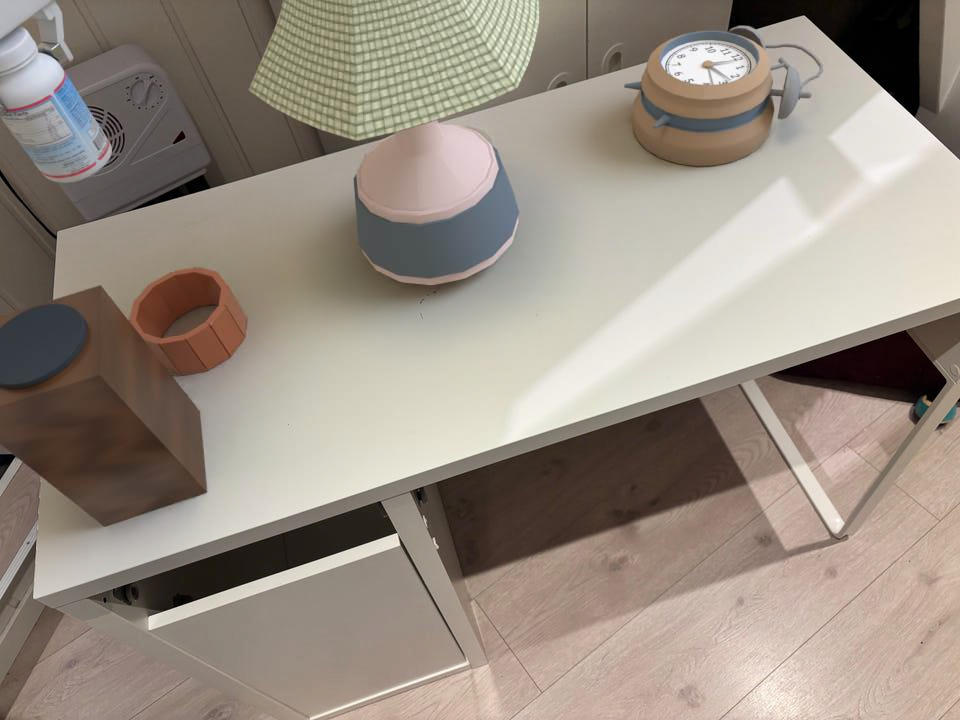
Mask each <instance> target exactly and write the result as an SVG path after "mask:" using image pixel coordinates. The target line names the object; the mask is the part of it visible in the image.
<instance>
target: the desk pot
mask: <svg viewBox="0 0 960 720" xmlns="http://www.w3.org/2000/svg"><path fill="white" fill-rule="evenodd" d="M214 305H216V306H217V307H216V308H215V309H214V310H213V311H212V313H211V314H210V315H209V316H208V318H207V319H206V321H205V322H203V323H201V324H200V325H198V326H196V327H194V328H193V329H191V330H189V331H188V332H186V333H184V334H179V335H173V336H167V337H163V336H164V334H165V333H166V331H168V329H169V328H170V326H172V324H173V323H174V322H175V320H176V319H178V318H180V317H181V316H183V315H185V314H187V313H188V312H190V311H192V310H193V309H196V308H201V307H207V306H214ZM128 320H129V322H130V323H131V324H132V325H133V327H134V328H135V329H136V330H137V332H138V333H139V334H140V336H141V337H142V338H143V339H144V341H145V342H146V343H147V344H148V346H149V347H150V348H151V350H152V351H153V352H154V353H155V355H156V356H157V357H158V358H159V360H160V361H161V362H162V364H163V365H164V366H165V367H166V369H167V370H168V371H169V372H170V373H174V374H178V375H181V376H185V375H193V374H197V373H204V372H208V371H210V370H212V369H214V368H215V367H216V366H218V365H220V364H221V363H223V362H225V361H227V360H228V359H230V358H231V357H232V356H233V355H234V354H235V352H236V351H237V349H238V348H239V347H240V345H241V344H242V342H243V341H244V340H245V338H246V336H247V335H246V334H247V326H248V325H247V324H248V318H247V315H246V313H245V312H244V310H243V309H242V307H241V305H240V304H239V302H238V300H237V298H236V296H235V295H234V293H233V292H232V289H230V287H229V285H228V283H227V282H226V281H225V280H224V278H223V276H221V273H219V272H218V271H216V270H212V269H209V268H204V267H201V266H193V267H187V268H182V269H177V270H174V271H170V272H169V273H167V274H164V275H163V276H161V277H160V278H157V279H156V280H154V281H152V282H150V284H148V285H147V286H146V287H145V288H144V289H143V290H142V292H141V293H140V294H139V295H138V296H137V297H136V299H134V301H133V303H132V306H131V310H130V315H129V319H128Z"/></svg>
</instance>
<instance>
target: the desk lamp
mask: <svg viewBox="0 0 960 720" xmlns="http://www.w3.org/2000/svg"><path fill="white" fill-rule="evenodd" d="M539 24H540V0H282V4H281V9H280V13H279V15H278V18H277V21H276V24H275V27H274V29H273V32H272V35H271V37H270V39H269V40H268V41H269V42H268V44H267V46H266V49H265V51H264V53H263V55H262V58H261V60H260V62H259V65H258V66H257V67H258V68H257V70H256V72H255V75H254V77H253V78H252V81H251V82H250V83H251V84H250V86H249V87H248V91H249V92H250V93H252V94H253V95H255V96H256V97H258V98H259V99H260V100H261V101H263V102H265V103H266V104H268V106H271V107H272V108H274V109H275V110H278V111H279V112H281V113H283V114H284V115H287V116H289V117H290V118H293V119H295V120H296V121H299V122H302V123H304V124H306V125H309V126H311V127H314V128H316V129H318V130H319V131H320V130H321V131H324V132H327V133H330V134H333V135H336V136H340V137H342V138H345V139H350V140H352V141H355V142H360V141H365V140H369V139H372V138H378V137H382V136H387V135H389V136H387V137H384V138H383V139H381V140H380V141H379V142H378V143H377V144H375V145H374V146H373V147H372V148H371V149H369V151H368V152H366V153H365V154H364V156H363V158H362V160H361V162H360V163H359V166H358V167H357V170H356V172H355V175H354V177H353V191H354V204H355V217H356V231H357V243H358V244H357V245H358V246H359V247H360V249H361V252H362V254H363V256H364V257H366V259H367V260H368V262H369V263H370V264H371V266H372V267H373V268H374V270H375V271H377V272H379V273H382V274H383V275H385V276H387V277H389V278H391V279H393V280H396V281H398V282H400V283H406V284H414V285H415V284H416V285H425V286H435V285H436V286H437V285H439V284H445V283H450V282H454V281H461V280H464V279H465V280H466V279H467V278H469V277H471V276H473V275H476V273H478V272H480V271H482V270H484V269H486V268H488V267H489V266H491V265H494V264H495V263H496V261H497V260H498V259H499V258H500V257H501V256H502V255H503V254H504V253H505V252H506V250H508V248H510V246H511V245H512V244H513V242H514V238H515V235H516V232H517V230H518V229H517V228H518V225H519V222H520V219H519V215H520V210H519V205H518V203H517V200H516V196H515V192H514V189H513V187H512V184H511V182H510V179H509V177H508V175H507V172H506V169H505V167H504V164H503V161H502V159H501V156H500V153H499V151H498V149H497V148H496V147H495V146H493V144H491V143H490V142H489V141H488V139H486V138H485V137H484V136H483V135H481V134H480V133H479V132H478V131H476V130H473V129H471V128H468V127H464V126H462V125H459V124H456V123H453V124H452V123H451V124H450V123H439V120H442V119H445V118H448V117H450V116H453V115H457V114H460V113H463V112H465V111H468V110H471V109H475V108H477V107H480V106H482V105H484V104H486V103H489V102H491V101H492V100H495V99H497V98H500V97H502V96H504V95H506V94H509V93H511V92H514V91H515V90H516V89H517V88H518V87H519V86H520V83H521V81H522V79H523V76H524V74H525V73H526V70H527V68H528V67H529V63H530V60H531V56H532V53H533V50H534V47H535V43H536V38H537V34H538V28H539ZM390 134H391V135H390Z"/></svg>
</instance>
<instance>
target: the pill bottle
mask: <svg viewBox="0 0 960 720" xmlns="http://www.w3.org/2000/svg"><path fill="white" fill-rule="evenodd" d="M37 46H38V45H37V43H36V41H35V40H34V39H33V37H32V36H31V34H30V32H29V31H28V30H27V29H26V28H25V27H24V26H21V25H19V26H18V27H17V28H15V29H14V30H13V31H11V32H10V33H8V34H7V35H6V36H4V37H3V38H2V39H0V100H1V105H3V106H5V107H6V109H7V111H8V112H7V113H6V114H5V115H4V116H3V117H1V118H0V120H2V122H3V124H4V125H5V126H6V128H7V129H8V130H9V131H10V133H11V135H13V137H14V138H15V139H16V141H17V142H18V143H19V145H20V147H22V149H23V150H24V151H25V153H26V154H27V155H28V157H29V158H30V159H31V161H32V162H33V164H34V165H35V166H36V167H37V169H38V170H39V172H40V173H41V174H42V175H43V177H45V178H46V179H48V180H49V181H52V182H55V183H60V184H61V183H63V184H67V183H69V184H70V183H75V182H79V181H82V180H85V179H87V178H89V177H91V176H93V175H95V174H96V173H98V172H99V171H100V170H101V169H103V168H104V167H105V166H106V164H108V162H109V160H110V158H111V156H112V152H113V148H112V144H111V142H110V141H109V139H108V136H107V135H106V134H105V133H104V130H103V129H102V128H101V126H100V124H99V123H98V121H97V120H96V118H95V117H94V115H93V114H92V112H91V111H90V109H89V108H88V106H87V104H86V103H85V102H84V101H85V100H83V98H82V96H81V95H80V94H79V92H78V90H77V89H76V87H75V86H74V84H73V82H72V80H71V79H70V78H69V76H68V75H67V72H65V70H64V67H63V68H62V67H61V66H60V64H59V63H58V62H57V61H56V60H55V59H54V58H52V57H51V56H49V55H46V54H43V53H38V48H37Z"/></svg>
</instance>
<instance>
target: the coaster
mask: <svg viewBox="0 0 960 720" xmlns="http://www.w3.org/2000/svg"><path fill="white" fill-rule="evenodd" d="M86 337H87V325H86V322H85V320H84V318H83V317H82V316H81V314H80V313H79V312H78V311H77V310H75V309H74V308H72V307H70V306H67V305H62V304H48V305H42V306H38V307H35V308H32V309H29V310H27V311H25V312H23V313H21V314H19V315H17V316H15V317H14V318H12V319H11V320H9V321H8V322H7V323H5V324H4V325H3V326H2V327H1V328H0V387H4V388H10V389H18V388H26V387H30V386H34V385H36V384H39V383H42V382H44V381H46V380H48V379H50V378H51V377H53V376H55V375H56V374H58V373H59V372H61V371H62V370H63V369H65V368H66V367H67V366H68V365H69V364H70V363H71V362H72V361H73V360H74V359H75V358H76V356H77V355H78V354H79V352H80V351H81V349H82V347H83V345H84V343H85V340H86Z"/></svg>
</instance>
